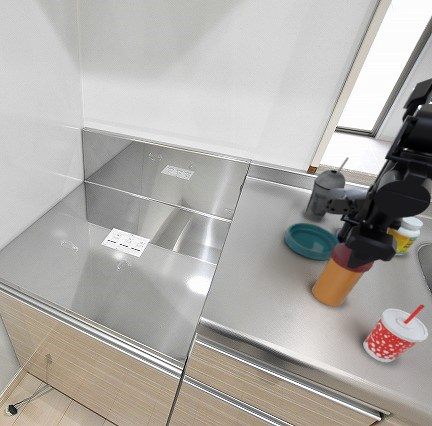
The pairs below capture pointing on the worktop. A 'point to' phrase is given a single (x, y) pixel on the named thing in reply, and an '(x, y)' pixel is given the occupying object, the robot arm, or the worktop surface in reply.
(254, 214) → the worktop surface
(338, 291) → the jar
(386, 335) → the beverage cup
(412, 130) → the robot arm
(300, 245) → the dish
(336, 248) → the lid
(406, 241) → the supplement bottle
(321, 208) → the beverage cup
